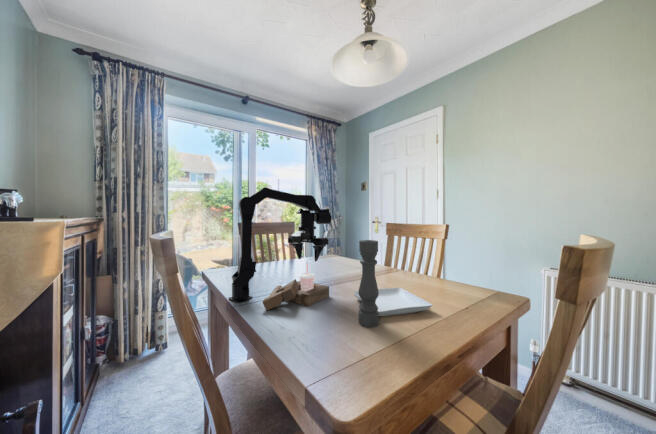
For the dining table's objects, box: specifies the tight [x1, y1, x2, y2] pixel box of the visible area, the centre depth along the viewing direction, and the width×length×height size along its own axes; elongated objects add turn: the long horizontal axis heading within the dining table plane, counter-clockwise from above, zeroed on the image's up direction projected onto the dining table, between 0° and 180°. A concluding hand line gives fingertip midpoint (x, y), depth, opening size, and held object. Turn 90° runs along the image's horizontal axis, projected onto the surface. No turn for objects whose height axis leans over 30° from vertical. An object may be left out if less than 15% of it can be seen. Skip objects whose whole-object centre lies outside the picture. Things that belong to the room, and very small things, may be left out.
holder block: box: [279, 280, 330, 307], centre depth 98 cm, size 15×13×4 cm
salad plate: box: [352, 287, 433, 317], centre depth 89 cm, size 21×21×3 cm
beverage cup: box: [298, 261, 316, 292], centre depth 98 cm, size 6×6×14 cm
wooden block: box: [262, 279, 299, 312], centre depth 93 cm, size 4×11×18 cm
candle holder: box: [357, 239, 380, 328], centre depth 75 cm, size 6×6×25 cm
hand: (307, 260), depth 107 cm, fingers open, 9 cm apart
